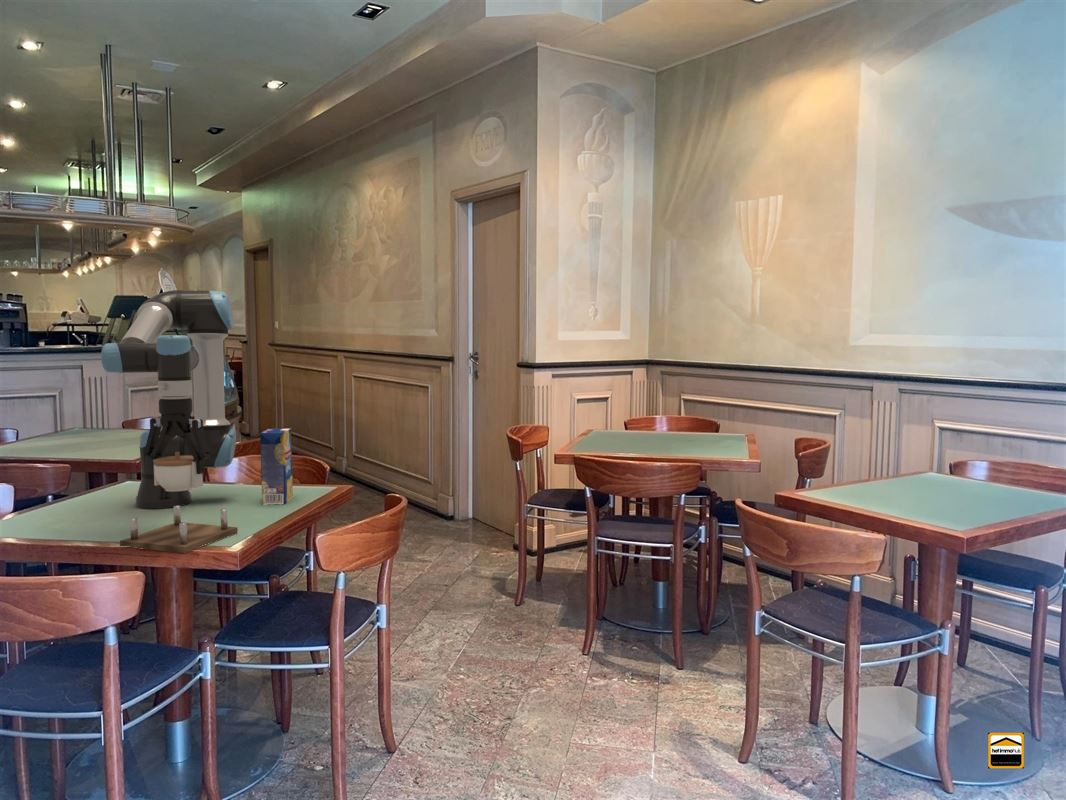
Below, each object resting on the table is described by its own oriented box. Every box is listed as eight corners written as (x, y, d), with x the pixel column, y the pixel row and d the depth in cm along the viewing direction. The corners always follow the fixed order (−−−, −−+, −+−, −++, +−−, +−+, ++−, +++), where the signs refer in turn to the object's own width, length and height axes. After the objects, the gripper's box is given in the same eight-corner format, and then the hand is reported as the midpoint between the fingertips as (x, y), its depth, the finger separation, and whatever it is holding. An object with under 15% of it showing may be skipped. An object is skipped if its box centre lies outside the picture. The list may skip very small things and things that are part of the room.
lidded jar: (168, 485, 193) (167, 448, 192) (209, 485, 193) (208, 449, 192) (145, 493, 182) (144, 455, 182) (189, 493, 182) (187, 455, 181)
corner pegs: (129, 539, 183) (128, 519, 183) (177, 523, 199) (176, 505, 198) (184, 544, 179) (183, 524, 178) (229, 528, 194) (228, 509, 194)
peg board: (119, 546, 182) (119, 540, 182) (176, 527, 200) (176, 522, 200) (185, 553, 177) (184, 547, 177) (237, 532, 195) (237, 527, 195)
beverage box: (292, 497, 239) (291, 428, 237) (285, 504, 228) (283, 432, 226) (270, 497, 238) (268, 428, 236) (262, 505, 227) (260, 433, 225)
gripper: (125, 397, 185) (128, 485, 187) (204, 399, 179) (207, 491, 181) (148, 395, 192) (151, 480, 194) (225, 397, 186) (228, 485, 188)
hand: (178, 485), depth 187 cm, fingers closed on lidded jar, 11 cm apart
